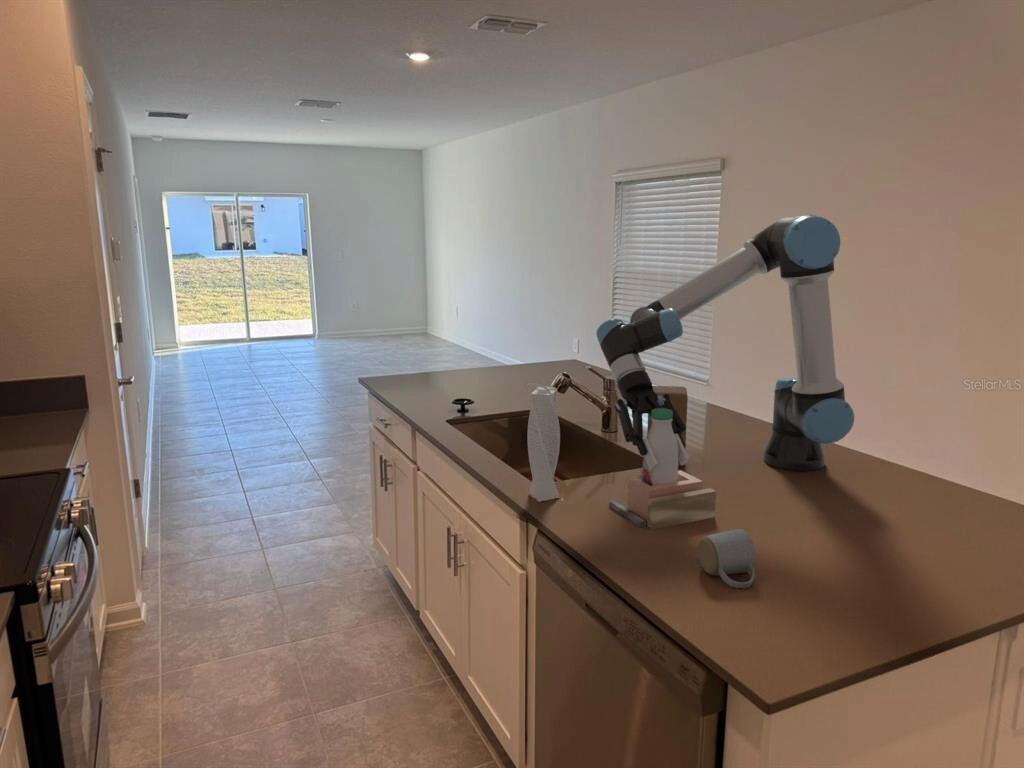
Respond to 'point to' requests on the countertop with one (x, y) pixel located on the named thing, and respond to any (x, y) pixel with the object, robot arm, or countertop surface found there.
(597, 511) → the countertop surface
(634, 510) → the cradle
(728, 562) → the ceramic mug
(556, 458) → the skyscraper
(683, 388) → the block
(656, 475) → the milk bottle
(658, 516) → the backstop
